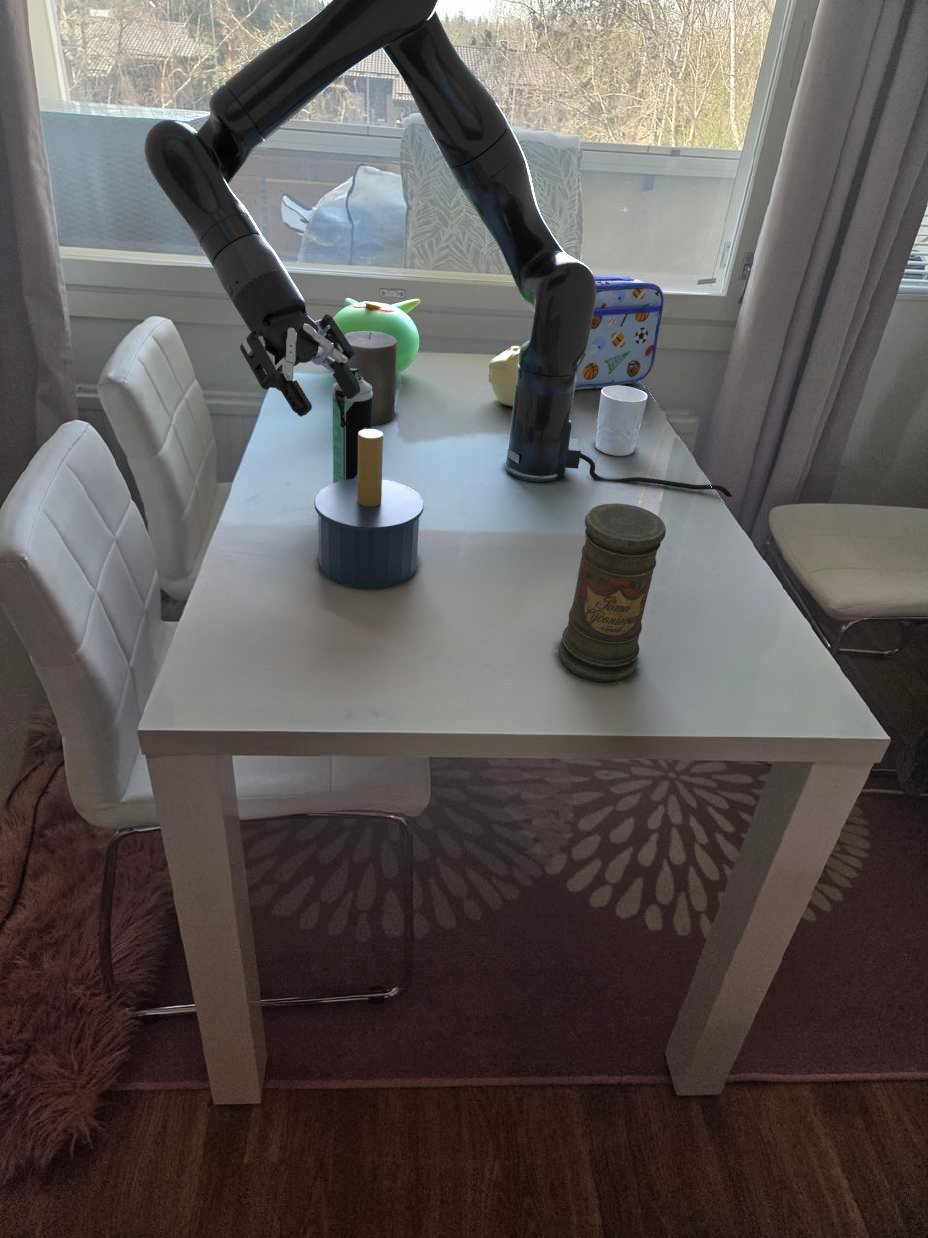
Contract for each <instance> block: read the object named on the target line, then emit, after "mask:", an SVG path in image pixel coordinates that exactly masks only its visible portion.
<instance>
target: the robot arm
mask: <svg viewBox="0 0 928 1238" xmlns="http://www.w3.org/2000/svg"><path fill="white" fill-rule="evenodd" d="M438 4H439V0H331V1H330V2H329V3H328V4H327V5H325V6H324V7H323V8H322V9H321V10H320V11H319V12H318V13H317V14H315V15H314V16H313V17H312V18H310V19H309V20H308V21H307V22H305V23H304V24H302V25H301V26H300V27H298V28H296V29H295V30H294V31H292V32H290V33H288V34H287V35H286V36H284V37H283V38H281V39H280V40H278V41H276V42H275V43H274V44H272V45H270V46H269V47H268V48H266V49H265V50H263V51H262V52H260V53H259V54H258V55H257V56H255V57H254V58H253V59H251V60H250V61H249V62H248V63H247V64H245V65H244V66H243V67H242V68H241V69H239V70H238V71H237V72H236V73H235V74H233V75H232V76H231V77H230V78H228V80H226V81H225V82H224V83H223V84H222V85H221V86H219V87H218V88H217V89H216V90H215V91H214V93H212V95H211V96H210V98H209V101H208V108H209V117H208V118H207V120H205V122H204V123H203V124H202V125H201V127H200V128H199V129H198V130H197V131H196V129H194V128H193V127H191V125H189V124H187V123H185V122H183V121H180V120H176V119H165V120H161V121H158V122H156V123H155V124H153V126H151V128H150V129H149V130H148V132H147V134H146V137H145V139H144V146H143V148H144V149H143V151H144V158H145V162H146V165H147V167H148V169H149V171H150V173H151V174H152V177H153V178H154V179H155V181H156V182H157V184H158V186H159V187H160V189H161V190H162V191H163V193H164V194H165V195H166V197H167V198H168V199H169V201H170V202H171V204H172V205H173V206H174V208H175V209H176V210H177V212H178V213H179V214H180V215H181V217H182V218H183V219H184V221H185V222H186V223H187V226H188V227H189V228H190V230H191V232H192V234H193V235H194V237H195V239H196V242H197V243H198V244H199V246H200V248H201V249H202V251H203V253H204V254H205V256H206V258H207V259H208V261H209V264H211V266H212V268H213V269H214V271H215V273H216V275H217V277H218V280H219V281H220V284H221V286H222V288H223V289H224V292H225V293H226V295H227V296H228V298H229V299H230V301H231V303H232V304H233V306H234V307H235V309H236V310H237V313H238V314H239V315H240V317H241V318H242V320H243V322H244V323H245V325H246V327H247V328H248V330H249V332H250V333H249V334H248V335H247V336H246V338H244V340H243V341H242V342H241V344H240V345H239V350H240V351H241V353H242V355H243V357H244V359H245V360H246V363H247V364H248V366H249V368H250V369H251V371H252V373H253V374H254V377H255V378H256V381H257V382H258V384H259V386H260V387H261V388H262V389H263V390H269V389H271V388H272V389H276V390H277V391H279V392H281V394H282V396H283V397H284V398H285V399H284V400H286V402H287V404H288V405H289V407H290V408H291V410H292V411H293V412H294V413H295V414H297V416H299V417H304V416H307V415H308V413H310V412H311V411H312V410H313V404H312V403H311V401H310V400H309V397H308V396H307V394H306V393H305V391H304V390H303V388H302V387H301V385H300V383H299V382H298V380H297V379H295V380H294V367H296V366H298V365H299V364H307V363H310V362H311V363H313V364H314V365H316V366H322V367H324V368H325V369H327V370H328V371H330V372H331V373H333V374H332V377H333V378H334V380H335V381H336V382H337V383H338V384H339V386H340V388H341V389H342V391H343V393H344V394H345V396H346V398H347V399H352V398H354V397H355V396H356V395H357V394H358V393H359V392H360V386H359V383H358V381H357V379H356V378H355V377H354V374H353V373H352V371H351V370H350V368H349V366H348V361H349V360H350V359H351V358H352V357H353V356H354V354H355V351H354V350H353V348H352V347H351V345H350V344H349V342H348V341H347V339H346V338H345V336H344V335H343V333H342V332H341V330H340V329H339V327H338V326H337V324H336V323H335V321H334V320H333V318H334V317H332V315H330V314H328V313H325V314H324V316H323V317H321V318H320V319H318V320H315V321H314V320H313V319H312V318H311V317H310V316H309V315H308V313H307V308H306V301H305V298H304V297H303V295H302V294H301V291H299V288H298V287H297V285H296V284H295V282H294V280H293V279H292V277H291V276H290V274H289V272H288V271H287V269H286V267H285V266H284V264H283V263H282V260H281V259H280V257H279V256H278V254H277V253H276V251H275V250H274V248H272V246H271V245H270V244H269V242H268V241H267V240H266V238H265V237H264V235H263V234H262V233H261V230H260V229H259V227H258V226H257V224H256V222H255V221H254V219H253V217H252V215H250V213H249V211H248V210H247V208H246V207H245V205H244V204H243V203H242V202H241V201H240V200H239V199H238V197H237V196H236V195H235V193H233V191H232V190H231V188H230V186H229V184H230V182H231V181H232V180H233V179H234V177H235V176H236V175H237V173H238V172H239V171H240V169H241V168H243V166H244V164H245V163H246V162H247V160H248V158H249V157H250V156H251V154H252V152H253V151H254V150H255V149H256V148H257V147H259V146H260V145H261V144H263V143H264V142H265V141H267V140H268V139H269V138H270V137H272V135H274V134H275V133H276V132H277V131H279V130H280V129H281V128H282V127H283V126H285V125H286V124H287V123H288V122H289V121H290V120H292V119H293V118H294V117H295V116H296V115H297V114H299V113H300V112H301V111H302V110H303V109H304V108H305V107H306V106H308V105H309V104H310V103H311V102H312V101H313V100H314V99H316V98H317V97H318V96H319V95H320V94H321V93H323V92H324V91H325V90H326V89H328V88H329V87H330V86H331V85H332V84H333V83H334V82H335V81H337V80H338V79H339V78H341V77H342V76H343V75H345V74H346V73H347V72H349V71H351V70H352V69H353V68H354V67H356V66H357V65H358V64H360V63H361V62H362V61H364V60H366V59H367V58H369V57H371V56H372V55H374V54H375V53H376V52H378V51H380V50H382V51H383V52H384V53H385V55H386V57H388V60H389V61H390V62H391V63H392V65H393V67H394V68H395V69H396V71H397V73H399V75H400V77H401V79H402V80H403V82H404V84H405V85H406V87H407V89H408V91H409V92H410V93H409V94H410V95H411V96H412V99H413V101H414V102H415V105H416V107H417V110H418V112H419V113H420V116H421V117H422V120H423V122H424V123H425V126H426V128H427V129H428V131H429V133H430V135H431V137H432V139H433V140H434V142H435V144H436V146H437V148H438V150H439V152H440V154H441V156H442V158H443V160H444V162H445V164H446V165H447V167H448V169H449V170H450V172H451V174H452V176H453V178H454V179H455V181H456V183H457V184H458V187H459V188H460V189H461V191H462V193H463V194H464V196H465V197H466V199H467V201H468V202H469V204H470V205H471V207H472V209H473V210H474V212H475V213H476V214H477V216H478V218H479V219H480V220H481V223H482V224H483V225H484V226H485V228H486V229H487V231H488V232H489V233H490V235H491V236H492V238H493V239H494V241H495V242H496V244H497V246H498V248H499V250H500V252H501V254H502V256H503V259H504V260H505V263H506V266H507V267H508V270H509V272H510V274H511V276H512V279H513V281H514V283H515V286H516V288H517V290H518V293H519V294H520V295H519V296H520V297H521V299H522V301H523V303H524V304H525V305H526V306H527V308H528V309H529V310H530V311H531V312H532V313H534V315H533V322H532V328H531V334H530V338H529V340H528V341H525V342H524V343H523V344H522V345H521V346H520V347H521V348H520V351H519V359H518V367H517V376H516V385H515V394H514V403H513V406H512V413H511V421H510V429H509V439H508V448H507V454H506V461H505V470H506V471H507V473H509V475H511V476H513V477H515V478H517V479H519V480H523V481H527V482H533V483H534V482H535V483H549V482H553V481H556V480H557V481H558V480H560V481H563V480H564V479H565V472H566V469H577V470H578V469H579V465H580V461H581V460H583V461H585V462H587V463H588V465H589V476H591V478H593V479H594V480H596V481H599V482H600V481H601V482H611V483H622V484H623V483H624V484H625V483H646V484H651V485H660V486H667V487H675V488H680V489H681V488H682V489H687V490H688V489H689V490H696V491H697V490H698V491H704V490H716V491H719V492H721V493H722V494H724V495H725V497H728V498H731V497H733V495H732V494H731V492H730V491H729V490H728V489H727V488H726V487H724V486H723V485H720V484H715V483H714V484H713V483H712V484H711V483H710V484H709V483H708V484H695V483H694V484H693V483H686V482H679V481H672V480H666V479H658V478H653V477H652V478H651V477H643V476H642V477H641V476H631V477H630V476H629V477H622V478H605V477H602V476H600V475H598V474H597V473H596V463H595V462H594V460H593V459H592V458H590V456H588V455H586V454H584V453H582V450H581V447H580V442H579V439H577V438H571V434H572V428H573V423H572V419H571V418H572V411H573V404H574V400H575V399H574V398H575V391H576V390H575V386H576V379H577V373H578V367H579V362H580V360H581V358H582V356H583V355H584V353H585V350H586V347H587V343H588V339H589V334H590V329H591V324H592V319H593V314H594V308H595V302H596V283H595V278H594V276H595V275H594V273H593V272H592V270H591V269H590V268H589V267H588V266H587V265H586V264H584V263H583V262H581V261H579V260H578V259H576V258H574V257H572V256H570V255H568V253H566V252H565V251H564V249H563V248H562V247H561V246H560V244H559V242H558V241H557V240H556V238H555V237H554V235H553V234H552V232H551V230H550V228H549V227H548V225H547V224H546V222H545V220H544V218H543V216H542V215H541V214H542V213H541V212H540V209H539V207H538V203H537V200H536V196H535V192H534V186H533V183H532V176H531V173H530V169H529V166H528V163H527V162H528V161H527V159H526V157H525V154H524V151H523V150H522V148H521V145H520V143H519V141H518V138H517V137H516V135H515V133H514V132H513V130H512V128H511V125H510V124H509V122H508V120H507V118H506V116H505V114H504V112H503V111H502V109H501V108H500V106H499V105H498V103H497V101H496V100H495V99H494V97H492V95H491V94H490V92H489V90H487V88H486V87H485V86H484V85H483V83H482V82H481V81H480V79H479V78H478V77H477V76H476V74H475V73H474V72H473V71H472V69H470V67H469V66H468V65H467V64H466V62H465V61H464V60H463V59H462V57H461V56H460V54H459V53H458V51H457V49H456V48H455V47H454V45H453V44H452V41H451V40H450V38H449V37H448V34H447V32H446V30H445V29H444V26H443V24H442V22H441V19H440V17H439V15H438V13H437V11H436V8H437V6H438ZM338 344H339V345H340V347H341V348H342V350H343V352H341V351H340V349H339V348H338ZM319 348H321V350H320V351H319ZM269 354H270V355H272V359H271V357H270V356H269ZM332 359H333V360H332ZM710 485H711V486H712V488H711V486H710Z"/></svg>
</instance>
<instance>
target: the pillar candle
mask: <svg viewBox="0 0 928 1238" xmlns="http://www.w3.org/2000/svg"><path fill="white" fill-rule="evenodd" d="M344 336H345V338H346V339H347V341H348V342H349V344H350V345H351V347H352V348H353V350H354V351H355V354H354V356H353V357H352V358H351V359H350V360H349V361H348V366H349V368H354V367H356V368H359V374H360V375H361V377H363V380H364V381H365V382H367V383H369V384H371V385H372V392H373V411H372V425H382V424H387V423H390V422H391V421H393V420H395V418H396V408H395V407H396V389H397V386H396V385H397V381H396V380H397V374H396V361H397V340H396V338H394V337H393V336H391V335H389V334H385V333H380V332H374V331H359V332H351V333H347V334H345V335H344ZM342 352H343V350H342Z"/></svg>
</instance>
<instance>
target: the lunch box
mask: <svg viewBox="0 0 928 1238" xmlns="http://www.w3.org/2000/svg"><path fill="white" fill-rule="evenodd" d="M593 276H594V278H595V283H596V302H595V308H594V314H593V319H592V324H591V329H590V334H589V339H588V343H587V347H586V350H585V353H584V355H583V356H582V358H581V360H580V362H579V367H578V373H577V379H576V386H575V391H576V390H577V391H578V390H587V389H588V390H589V389H603V388H604V387H607V386H615V385H618V386H622V385H626V384H632V383H636V382H640V381H642V380H644V379H645V378H646V377H647V376H648V375H649V374H650V372H651V371H652V368H653V367H654V363H655V359H656V351H657V345H658V339H659V333H660V326H661V322H662V318H663V317H662V316H663V311H664V310H663V309H664V303H665V298H664V297H665V296H664V293H663V290H662V288H661V287H660V286H659V285H657V284H655V283H651V282H644V281H642V280H640V279H637V278H633V277H631V276H617V275H607V276H606V275H605V276H596V275H593Z"/></svg>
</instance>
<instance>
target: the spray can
mask: <svg viewBox="0 0 928 1238" xmlns="http://www.w3.org/2000/svg"><path fill="white" fill-rule="evenodd" d="M350 370H351V371H352V373H353V374H354V377H355V378H356V379H357V381H358V383H359V386H360V392H359V393H358V394H357V395H356V396H355V397H354V398H352V399H347V398H346V396H345V394H344V393H343V391H342V389H341V388H340V386H339V384H338V383H337V381H336V382H334V383H333V384H332V390H331V391H332V394H331V395H332V484H333V483H335V482H339V481H343V480H348V479H357V478H358V432H359V431H361V430H363V429H373V424H372V411H373V392H372V385H371V384H369V383H367V382H365V381H364V380H363V377H361V375H360V374H359V368H356V367H354V368H350Z"/></svg>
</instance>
